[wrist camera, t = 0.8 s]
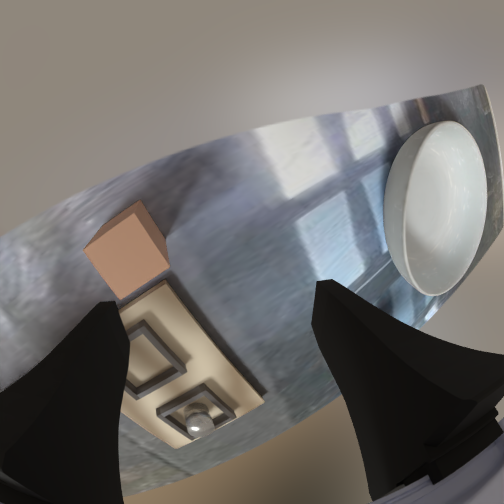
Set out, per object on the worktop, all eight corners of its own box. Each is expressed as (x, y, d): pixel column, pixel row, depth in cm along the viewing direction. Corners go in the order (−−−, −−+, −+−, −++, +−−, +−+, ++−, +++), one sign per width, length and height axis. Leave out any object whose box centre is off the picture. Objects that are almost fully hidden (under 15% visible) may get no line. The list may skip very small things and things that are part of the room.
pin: (193, 421, 29) (198, 440, 26) (178, 410, 28) (182, 429, 25) (213, 411, 30) (219, 429, 27) (199, 398, 28) (204, 417, 26)
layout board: (174, 443, 31) (177, 455, 29) (60, 350, 22) (55, 363, 20) (262, 396, 33) (268, 408, 31) (165, 279, 24) (166, 289, 22)
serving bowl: (446, 260, 39) (478, 274, 32) (353, 293, 32) (391, 319, 26) (453, 131, 32) (489, 134, 26) (354, 111, 26) (402, 104, 20)
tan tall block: (127, 264, 23) (120, 300, 17) (101, 226, 21) (82, 250, 15) (165, 239, 23) (170, 266, 17) (140, 199, 22) (134, 212, 15)
